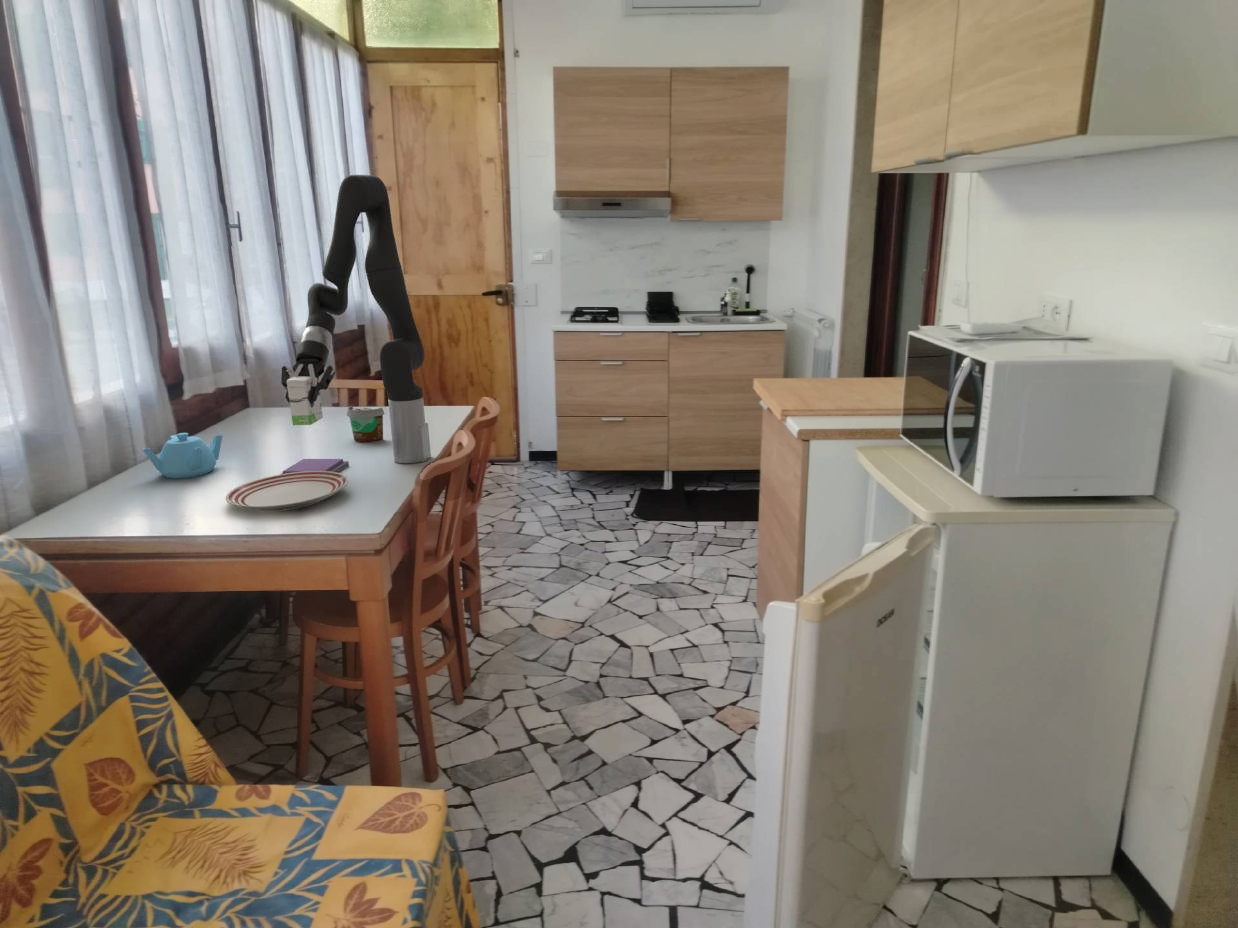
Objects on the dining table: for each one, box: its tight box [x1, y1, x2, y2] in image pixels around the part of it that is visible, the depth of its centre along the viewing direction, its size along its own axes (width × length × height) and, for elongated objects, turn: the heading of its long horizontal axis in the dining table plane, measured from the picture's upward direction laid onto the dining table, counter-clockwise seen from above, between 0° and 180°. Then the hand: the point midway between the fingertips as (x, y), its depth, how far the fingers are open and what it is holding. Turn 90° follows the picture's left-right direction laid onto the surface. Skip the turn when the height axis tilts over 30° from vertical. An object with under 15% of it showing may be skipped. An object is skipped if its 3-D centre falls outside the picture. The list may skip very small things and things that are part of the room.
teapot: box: [142, 432, 223, 479], centre depth 222 cm, size 15×15×11 cm
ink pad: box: [280, 458, 350, 474], centre depth 220 cm, size 13×14×2 cm
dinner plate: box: [225, 471, 349, 512], centre depth 199 cm, size 27×27×3 cm
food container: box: [346, 405, 385, 444], centre depth 251 cm, size 12×6×10 cm, turn 68°
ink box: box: [287, 376, 324, 426], centre depth 215 cm, size 9×5×12 cm, turn 177°
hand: (300, 401), depth 212 cm, fingers closed on ink box, 5 cm apart
